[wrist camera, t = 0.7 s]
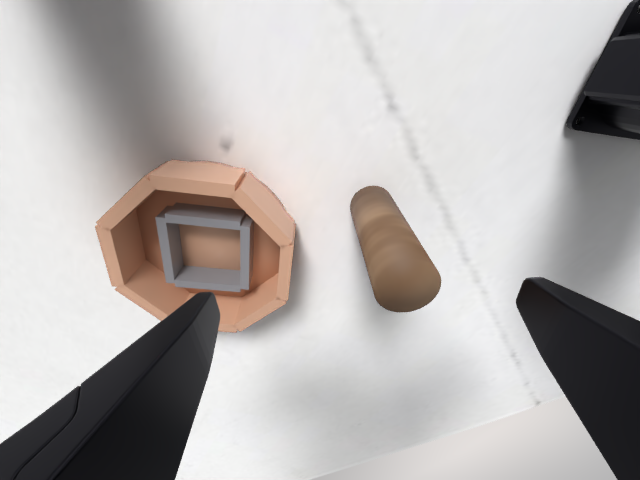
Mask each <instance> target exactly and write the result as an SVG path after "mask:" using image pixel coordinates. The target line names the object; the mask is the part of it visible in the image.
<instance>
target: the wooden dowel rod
mask: <svg viewBox="0 0 640 480" xmlns="http://www.w3.org/2000/svg"><path fill="white" fill-rule="evenodd" d="M350 210H351V214H352V217H353V221H354V225H355V228H356V232H357V235H358V239H359V242H360V246H361V249H362V253H363V257H364V260H365V264H366V267H367V271H368V274H369V278H370V282H371V285H372V289H373V292H374V296H375V299H376V300H377V302H378V303H379V304H380V305H381V306H382V307H384V308H385V309H387V310H390V311H394V312H410V311H414V310H417V309H420V308H422V307H424V306H425V305H427V304H428V303H430V302H431V301H432V300H433V299H434V298H435V297H436V295H437V294H438V292H439V290H440V286H441V277H440V274H439V272H438V270H437V269H436V267H435V266H434V264H433V262H432V261H431V259H430V258H429V256H428V254H427V253H426V251H425V250H424V248H423V246H422V245H421V243H420V242H419V240H418V238H417V237H416V235H415V234H414V232H413V230H412V229H411V227H410V226H409V224H408V222H407V221H406V219H405V218H404V216H403V215H402V213H401V211H400V210H399V208H398V207H397V205H396V203H395V202H394V200H393V199H392V197H391V195H390V194H389V192H388V191H387V190H385V189H384V188H382V187H379V186H368V187H365V188H363V189H361V190H359V191H358V192H357V193H356V194H355V195H354V197H353V198H352V201H351V205H350Z"/></svg>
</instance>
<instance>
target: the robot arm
mask: <svg viewBox="0 0 640 480" xmlns="http://www.w3.org/2000/svg"><path fill="white" fill-rule="evenodd" d="M639 5H640V0H633V1H632V2H630V3H629V5H628V6H627V8H626V10H625V12H624V14H623V16H622V17H621V19H620V21H619V23H618V25H617V27H616V29H615V31H614V33H613V35H612V36H611V38H610V40H609V42H608V44H607V46H606V48H605V50H604V52H603V54H602V56H601V57H600V59H599V61H598V63H597V65H596V67H595V69H594V71H593V73H592V75H591V76H590V78H589V80H588V82H587V84H586V86H585V88H584V90H583V92H582V94H581V96H580V97H579V99H578V101H577V103H576V105H575V107H574V109H573V111H572V113H571V115H570V116H569V118H568V121H567V127H568V128H570V129H573V130H578V131H585V132H591V133H598V134H605V135H611V136H618V137H625V138H631V139H638V140H640V10H639V12H638V13H637V9H638V7H639ZM579 118H580V120H579V122H578V123H577V124H576V121H577V120H578V119H579ZM516 305H517V308H518V310H519V312H520V314H521V316H522V318H523V321H524V323H525V325H526V327H527V329H528V331H529V333H530V335H531V337H532V339H533V341H534V343H535V345H536V347H537V349H538V351H539V353H540V355H541V356H542V358H543V360H544V362H545V363H546V365H547V367H548V368H549V370H550V371H551V373H552V375H553V376H554V378H555V379H556V381H557V383H558V384H559V386H560V388H561V389H562V391H563V392H564V394H565V396H566V397H567V399H568V400H569V402H570V404H571V405H572V407H573V408H574V410H575V412H576V413H577V415H578V416H579V418H580V420H581V421H582V423H583V425H584V426H585V428H586V429H587V431H588V433H589V434H590V436H591V437H592V439H593V441H594V442H595V444H596V446H597V447H598V449H599V450H600V452H601V453H602V455H603V457H604V458H605V460H606V462H607V463H608V465H609V466H610V468H611V470H612V471H613V473H614V474H615V476H616V478H617V479H618V480H640V321H638V320H636V319H634V318H632V317H629V316H627V315H625V314H623V313H620V312H618V311H616V310H614V309H612V308H609V307H607V306H605V305H603V304H601V303H598V302H596V301H594V300H592V299H589V298H587V297H585V296H583V295H581V294H578V293H576V292H574V291H572V290H570V289H567V288H565V287H563V286H561V285H558V284H556V283H554V282H552V281H550V280H547V279H545V278H542V277H531V278H526V279H525V280H524V281H523V283H522V286H521V288H520V291H519V293H518V296H517V299H516ZM219 323H220V310H219V307H218V304H217V301H216V297H215V295H214V293H213V292H199V293H197V294H195V295H194V296H193V297H192V298H190V299H189V300H188V301H186V302H185V303H184V304H183V305H181V306H180V307H179V308H178V309H176V310H175V311H174V312H172V313H171V314H170V315H169V316H167V317H166V318H165V319H163V320H162V321H161V322H160V323H158V324H157V325H156V326H154V327H153V328H152V329H151V330H149V331H148V332H147V333H145V334H144V335H143V336H142V337H140V338H139V339H138V340H136V341H135V342H134V343H133V344H131V345H130V346H129V347H128V348H126V349H125V350H124V351H122V352H121V353H120V354H119V355H117V356H116V357H115V358H113V359H112V360H111V361H110V362H108V363H107V364H106V365H104V366H103V367H102V368H101V369H99V370H98V371H97V372H95V373H94V374H93V375H92V376H90V377H89V378H88V379H86V380H85V381H84V382H83V383H82V384H81V386H77V387H76V388H75V389H73V390H72V391H71V392H70V393H68V394H67V395H66V396H65V397H63V398H62V399H61V400H59V401H58V402H57V403H55V404H54V405H53V406H51V407H50V408H49V409H47V410H46V411H45V412H43V413H42V414H41V415H40V416H38V417H37V418H36V419H34V420H33V421H31V422H30V423H29V424H27V425H26V426H25V427H23V428H22V429H20V430H19V431H18V432H16V433H15V434H13V435H12V436H11V437H9V438H8V439H6V440H5V441H4V442H2V443H1V444H0V480H175V478H176V474H177V471H178V468H179V465H180V462H181V459H182V456H183V453H184V449H185V446H186V443H187V440H188V437H189V434H190V431H191V428H192V424H193V421H194V418H195V415H196V412H197V409H198V406H199V403H200V399H201V396H202V393H203V390H204V387H205V384H206V381H207V378H208V374H209V371H210V367H211V363H212V358H213V353H214V348H215V343H216V338H217V333H218V328H219Z"/></svg>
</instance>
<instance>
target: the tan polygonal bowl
mask: <svg viewBox="0 0 640 480" xmlns="http://www.w3.org/2000/svg"><path fill="white" fill-rule="evenodd" d="M96 223H97V224H98V225H96V226H95V228H96V232H97V235H98V239H99V242H100V246H101V250H102V253H103V257H104V260H105V264H106V267H107V271H108V274H109V278H110V281H111V285H112V286H116V289H115V290H116V291H118V292H119V293H120V294H122V295H123V296H125V297H126V298H128V299H129V300H131V301H132V302H134V303H135V304H137V305H138V306H140V307H141V308H143V309H144V310H146V311H147V312H149V313H150V314H152V315H153V316H155V317H156V318H158V319H159V320H161V321H162V320H163V319H165V318H166V317H167V316H169V315H170V314H171V313H172V312H174V311H175V310H176V309H178V308H179V307H180V306H181V305H183V304H184V303H185V302H186V301H188V300H189V299H190V298H192V297H193V296H194V295H195V294H197V293H199V292H213V293H214V295H215V297H216V301H217V304H218V307H219V310H220V323H219V328H218V331H221V332H235V333H236V332H237V330H238V331H240V332H241V331H242V330H244V329H245V328H247V327H249V326H250V325H252V324H254V323H255V322H257V321H258V320H260V319H262V318H263V317H265V316H267V315H268V314H270V313H271V312H273V311H275V310H276V309H278V308H279V307H281V306H283V305H284V304H286V301H288V295H289V286H290V277H291V267H292V258H293V248H294V238H295V227H296V224H294V219H293V218H292V217H291V216H290V215H289V214H288V213H287V212H286V210H285V208H284V206H283V205H282V203H281V202H280V200H279V199H278V198H277V197H276V195H275V194H274V193H273V192H272V191H271V190H270V189H269V188H268V187H267V186H266V185H265V184H263V183H262V182H261V181H259V180H258V179H257V178H256V177H255V176H254V175H253V174H252V173H251V172H250V171H249V172H245V168H236V167H233V166H229V165H226V164H223V163H217V162H212V161H189V162H187V161H179V160H171V161H169V162H168V161H167V162H165V163H164V164H162V165H161V166H159V167H158V168H156V169H155V170H153V171H151V172H150V173H148V174H147V175H145V176H144V177H143V178H142V179H141V180H140V181H139V182H138V183H137V184H136V185H135V186H133V187H132V188H131V189H130V190H129V191H128V192H127V193H126V194H125V195H124V196H123V197H122V198H121V199H120V200H119V201H118V202H117V203H116V204H115V205H114V206H113V207H112V208H110V209H109V210H108V211H107V212H106V213H105V214H104V215H103V216H102V217H101V218H100V219H99V220H98V221H97V222H96Z"/></svg>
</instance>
